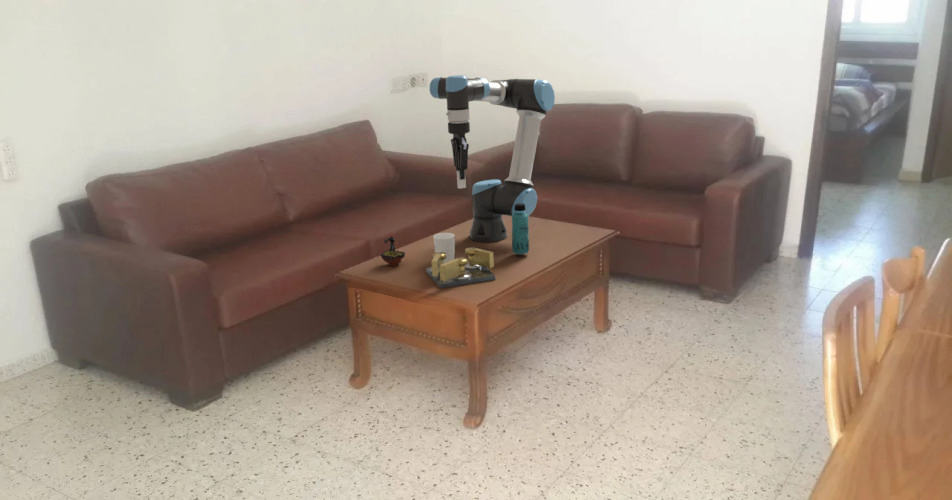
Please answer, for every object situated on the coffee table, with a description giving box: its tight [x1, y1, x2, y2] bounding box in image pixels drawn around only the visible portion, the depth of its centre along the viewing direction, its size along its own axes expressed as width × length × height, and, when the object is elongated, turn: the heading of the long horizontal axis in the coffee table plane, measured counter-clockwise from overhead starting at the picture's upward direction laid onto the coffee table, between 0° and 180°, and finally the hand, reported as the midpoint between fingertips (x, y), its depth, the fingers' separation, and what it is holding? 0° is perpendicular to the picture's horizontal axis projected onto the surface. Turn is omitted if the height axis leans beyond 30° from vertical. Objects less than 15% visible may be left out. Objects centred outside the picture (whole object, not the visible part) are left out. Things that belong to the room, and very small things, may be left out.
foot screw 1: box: [431, 252, 446, 276], centre depth 276 cm, size 12×5×6 cm, turn 172°
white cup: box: [433, 232, 456, 263], centre depth 294 cm, size 8×8×10 cm
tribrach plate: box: [425, 261, 496, 289], centre depth 279 cm, size 20×18×3 cm
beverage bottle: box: [511, 203, 530, 255], centre depth 295 cm, size 6×7×20 cm
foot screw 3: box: [464, 247, 495, 269], centre depth 280 cm, size 12×5×6 cm, turn 47°
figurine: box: [380, 234, 406, 267], centre depth 292 cm, size 10×8×12 cm
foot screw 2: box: [440, 257, 469, 281], centre depth 270 cm, size 12×5×6 cm, turn 139°
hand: (461, 187), depth 280 cm, fingers closed
